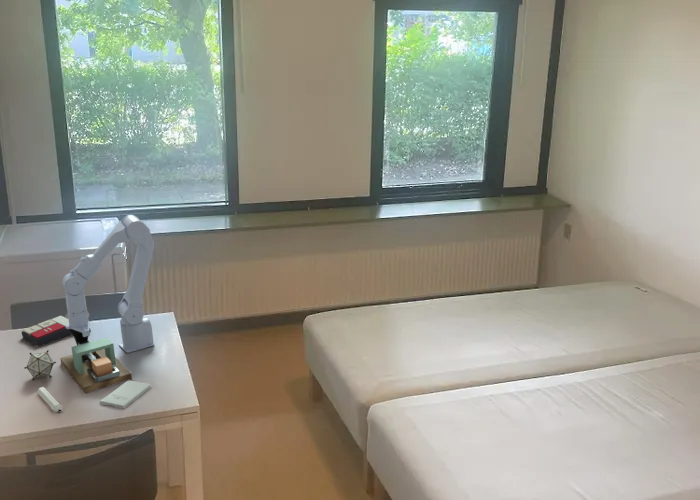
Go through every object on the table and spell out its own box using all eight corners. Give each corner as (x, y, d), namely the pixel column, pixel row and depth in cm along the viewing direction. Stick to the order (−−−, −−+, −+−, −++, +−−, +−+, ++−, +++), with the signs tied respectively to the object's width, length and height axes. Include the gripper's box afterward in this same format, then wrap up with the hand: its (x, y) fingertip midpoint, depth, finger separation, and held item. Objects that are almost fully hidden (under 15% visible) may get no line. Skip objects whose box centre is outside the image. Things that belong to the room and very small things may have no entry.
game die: (46, 389, 206) (40, 375, 198) (21, 378, 207) (15, 364, 199) (64, 365, 212) (59, 351, 204) (40, 355, 212) (34, 339, 204)
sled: (95, 349, 219) (94, 338, 217) (120, 375, 202) (118, 363, 201) (72, 355, 214) (71, 344, 213) (95, 382, 198) (93, 370, 196)
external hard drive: (151, 389, 200) (124, 410, 189) (127, 384, 203) (100, 405, 192) (150, 384, 199) (123, 405, 188) (127, 379, 202) (99, 400, 191)
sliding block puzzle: (20, 329, 232) (61, 313, 243) (22, 340, 233) (63, 324, 244) (36, 337, 225) (77, 321, 236) (39, 349, 227) (79, 332, 238)
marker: (61, 418, 186) (41, 395, 197) (67, 412, 187) (47, 390, 198) (55, 412, 185) (35, 390, 196) (61, 407, 185) (41, 385, 197)
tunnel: (109, 357, 214) (107, 337, 212) (115, 363, 210) (113, 343, 208) (74, 367, 208) (71, 347, 206) (79, 374, 204) (76, 353, 201)
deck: (105, 351, 223) (104, 345, 222) (131, 378, 205) (131, 373, 204) (61, 363, 215) (60, 357, 214) (84, 393, 197) (83, 387, 196)
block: (108, 369, 206) (106, 356, 205) (113, 375, 203) (111, 362, 201) (93, 374, 204) (91, 360, 202) (98, 380, 200) (96, 366, 199)
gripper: (57, 306, 217) (63, 345, 221) (71, 321, 206) (76, 361, 210) (80, 301, 221) (85, 339, 225) (94, 315, 210) (99, 354, 214)
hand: (82, 349), depth 218 cm, fingers closed
